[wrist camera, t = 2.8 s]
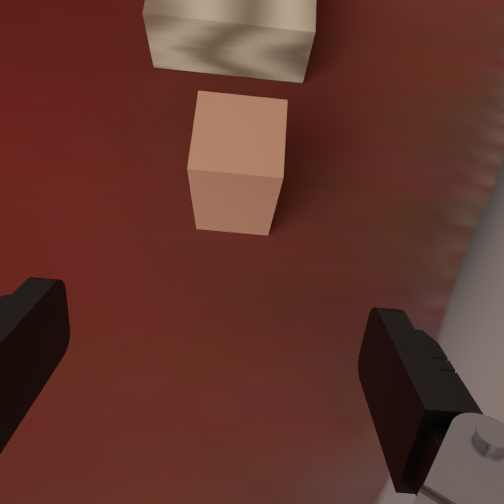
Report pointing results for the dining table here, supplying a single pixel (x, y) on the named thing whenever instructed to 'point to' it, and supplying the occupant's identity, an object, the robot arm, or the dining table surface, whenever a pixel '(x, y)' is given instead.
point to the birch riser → (232, 36)
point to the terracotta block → (236, 161)
